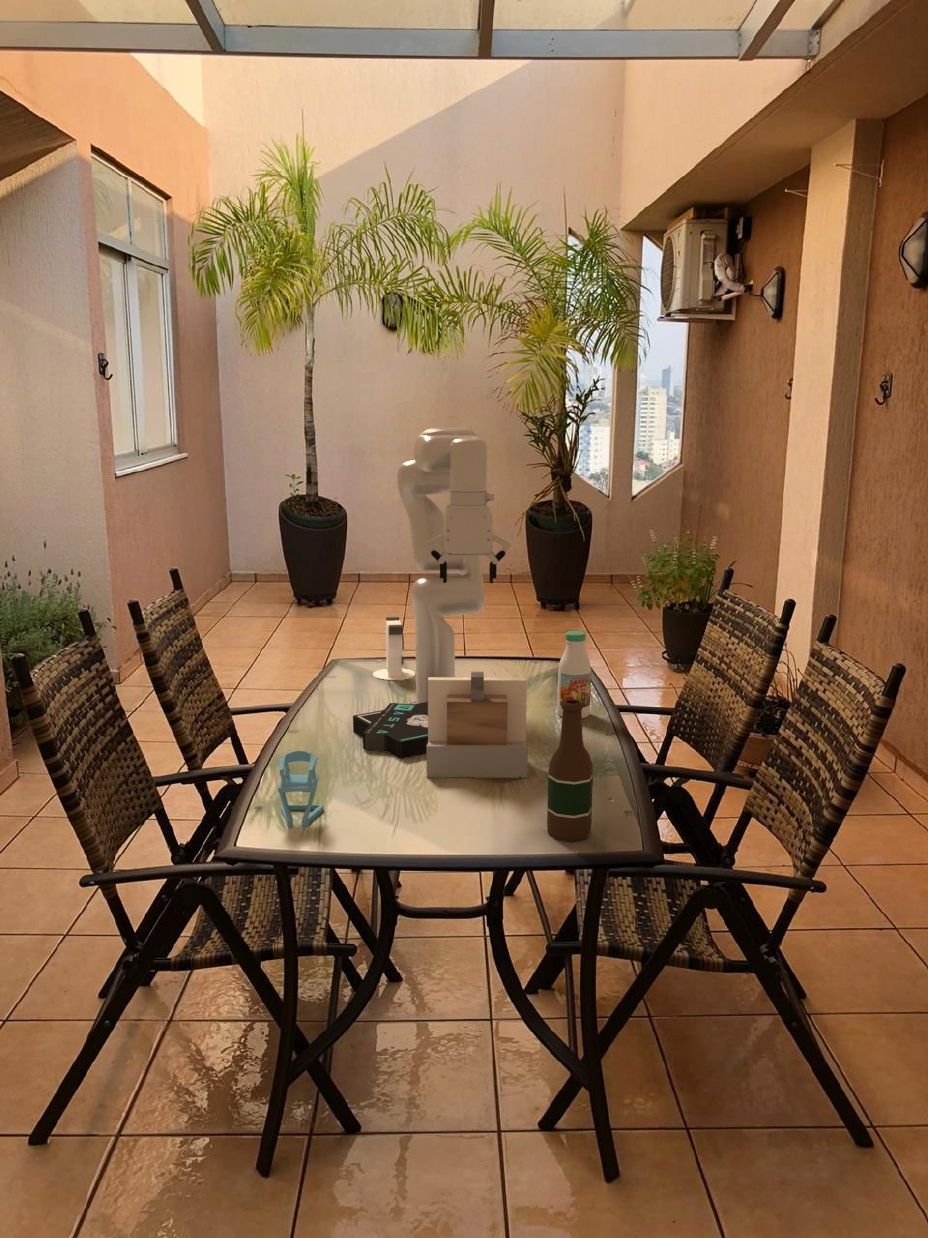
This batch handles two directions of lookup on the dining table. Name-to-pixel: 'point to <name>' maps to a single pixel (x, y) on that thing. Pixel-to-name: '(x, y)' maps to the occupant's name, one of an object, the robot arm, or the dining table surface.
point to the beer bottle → (570, 780)
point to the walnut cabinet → (477, 716)
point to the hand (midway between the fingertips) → (468, 582)
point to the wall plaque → (395, 729)
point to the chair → (299, 787)
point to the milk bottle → (574, 673)
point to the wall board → (477, 757)
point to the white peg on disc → (394, 653)
